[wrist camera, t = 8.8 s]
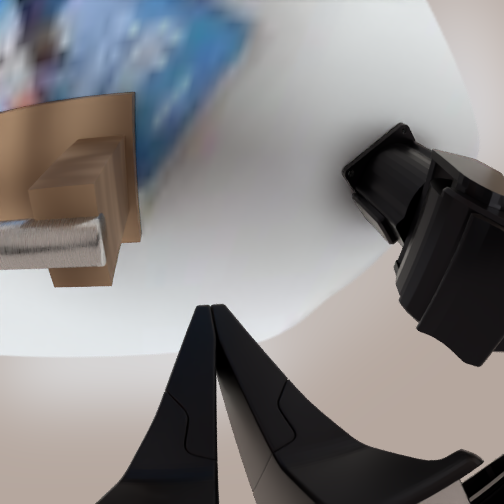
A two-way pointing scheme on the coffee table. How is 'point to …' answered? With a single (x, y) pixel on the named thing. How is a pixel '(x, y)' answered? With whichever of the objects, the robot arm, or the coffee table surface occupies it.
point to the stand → (73, 172)
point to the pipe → (52, 243)
